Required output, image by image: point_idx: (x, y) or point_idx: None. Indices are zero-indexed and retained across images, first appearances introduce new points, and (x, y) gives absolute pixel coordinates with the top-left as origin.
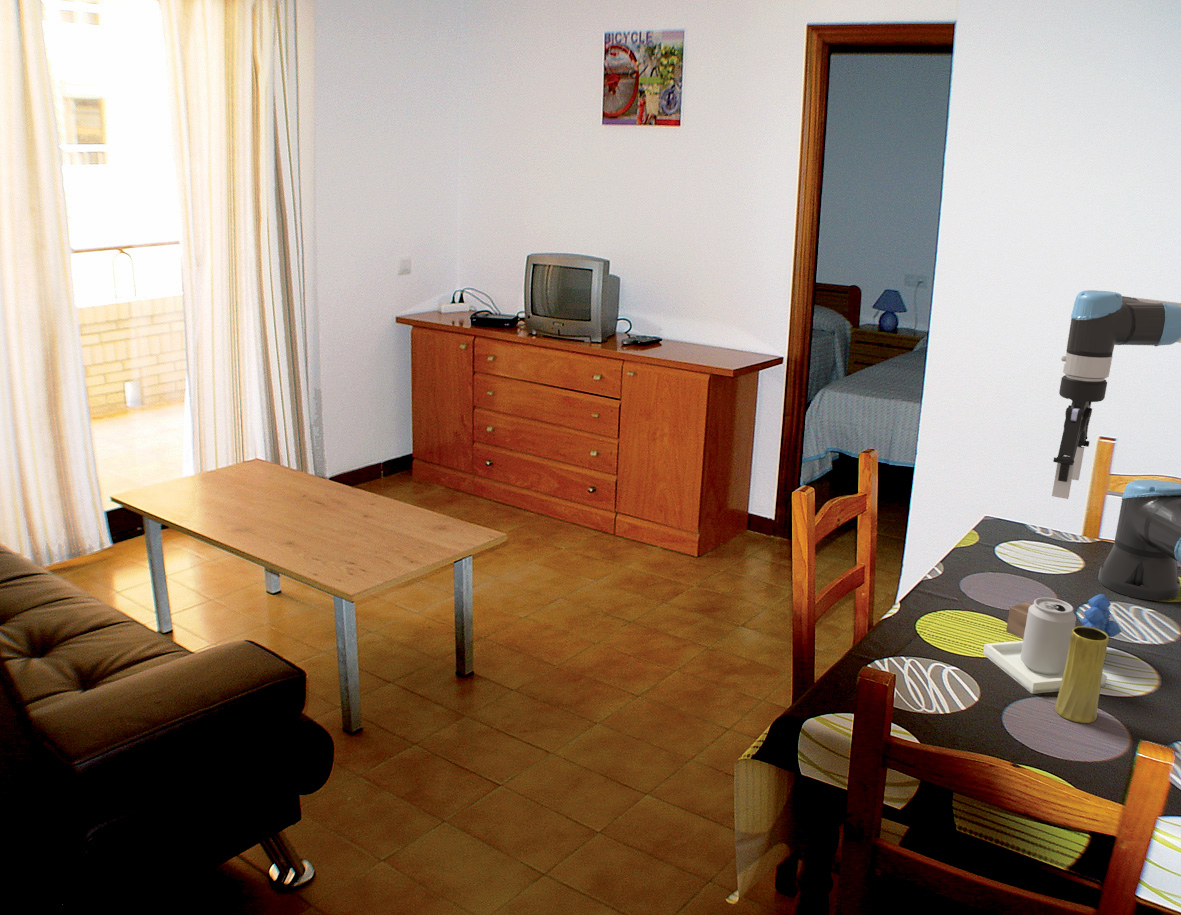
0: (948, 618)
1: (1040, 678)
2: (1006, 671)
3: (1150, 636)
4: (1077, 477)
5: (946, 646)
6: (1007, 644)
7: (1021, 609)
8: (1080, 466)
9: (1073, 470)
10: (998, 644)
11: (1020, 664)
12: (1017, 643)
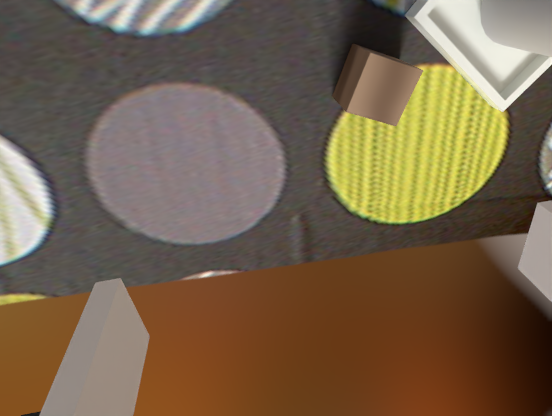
0: (381, 195)
1: None
2: None
3: None
4: (118, 297)
5: (487, 157)
6: (485, 80)
7: (392, 105)
8: (90, 363)
9: (119, 354)
10: (494, 92)
11: None
12: (474, 67)
